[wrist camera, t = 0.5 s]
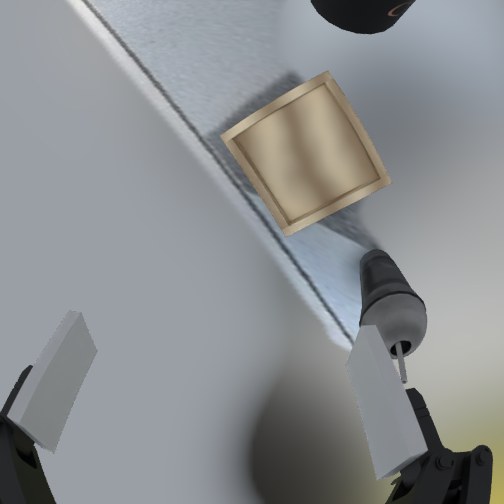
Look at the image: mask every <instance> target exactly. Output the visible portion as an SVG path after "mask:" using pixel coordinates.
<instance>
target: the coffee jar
mask: <svg viewBox="0 0 504 504" xmlns="http://www.w3.org/2000/svg"><path fill="white" fill-rule="evenodd" d="M414 2H415V0H311V3H312V5H313V6H314V8H315V9H316V11H317V12H318V13H319V14H320V15H321V16H322V17H323V18H325V19H326V20H327V21H328V22H329V23H331V24H333V25H335V26H337V27H339V28H341V29H343V30H346V31H350V32H354V33H360V34H374V33H379V32H384V31H385V30H387V29H388V28H390V27H391V26H393V25H394V24H395V23H396V22H397V20H398V19H399V18H400V17H401V16H402V15H403V14H404V13H405V12H406V10H407V9H408V8H409V7H410V6H411V5H412V4H413V3H414Z"/></svg>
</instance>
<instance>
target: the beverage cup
mask: <svg viewBox="0 0 504 504" xmlns="http://www.w3.org/2000/svg"><path fill="white" fill-rule="evenodd" d="M360 280H361V295H362V310H361V317H360V322H359V326H360V327H361V326H366V325H376V327H377V329H378V331H379V333H380V335H381V337H382V339H383V341H384V344H385V346H386V348H387V350H388V352H389V354H390V357H391V359H398V362H399V369H400V375H401V381H402V384H406V383H407V376H406V370H405V363H404V358H403V357H405V356H408V355H409V354H411V353H412V352H414V351H415V350H416V348H417V347H418V346H419V345H420V344H421V342H422V340H423V338H424V336H425V333H426V327H427V315H426V308H425V304H424V302H423V300H422V299H421V298H420V297H419V296H418V295H417V294H416V293H415V292H414V291H413V290H412V289H411V287H410V285H409V284H408V282H407V281H406V279H405V277H404V276H403V274H402V273H401V271H400V270H399V268H398V267H397V265H396V264H395V262H394V261H393V260H392V259H391V258H390V256H389V255H388V254H387V253H386V252H384V251H382V250H373V251H370V252H368V253H367V254H365V255H364V256H363V258H362V260H361V262H360Z"/></svg>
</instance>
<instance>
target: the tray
mask: <svg viewBox="0 0 504 504" xmlns="http://www.w3.org/2000/svg"><path fill="white" fill-rule="evenodd" d="M220 137H221V139H222V140H223V142H224V143H225V145H226V146H227V147H228V149H229V150H230V152H231V153H232V155H233V156H234V158H235V159H236V161H237V162H238V164H239V165H240V167H241V168H242V170H243V171H244V173H245V174H246V176H247V177H248V179H249V180H250V182H251V183H252V185H253V186H254V188H255V189H256V191H257V192H258V194H259V195H260V197H261V198H262V200H263V202H264V203H265V205H266V206H267V208H268V209H269V211H270V212H271V214H272V216H273V217H274V219H275V220H276V222H277V223H278V225H279V227H280V228H281V230H282V231H283V233H284V234H285V236H286V237H287V236H289V235H291V234H293V233H295V232H297V231H299V230H301V229H303V228H305V227H307V226H309V225H311V224H313V223H315V222H317V221H319V220H321V219H322V218H324V217H326V216H328V215H330V214H332V213H334V212H336V211H338V210H340V209H342V208H344V207H346V206H348V205H350V204H352V203H354V202H356V201H358V200H360V199H362V198H364V197H366V196H368V195H370V194H372V193H374V192H375V191H377V190H379V189H381V188H383V187H385V186H387V185H389V184H391V183H392V182H391V179H390V177H389V175H388V173H387V171H386V169H385V167H384V165H383V163H382V161H381V158H380V157H379V155H378V153H377V151H376V149H375V147H374V145H373V143H372V141H371V139H370V138H369V136H368V134H367V132H366V130H365V128H364V127H363V125H362V123H361V121H360V120H359V118H358V116H357V115H356V113H355V111H354V110H353V108H352V106H351V105H350V103H349V102H348V100H347V99H346V97H345V95H344V94H343V92H342V91H341V89H340V88H339V86H338V85H337V83H336V82H335V80H334V79H333V77H332V76H331V74H330V73H329V71H326V72H324V73H322V74H320V75H318V76H316V77H314V78H313V79H311V80H309V81H307V82H305V83H303V84H301V85H300V86H298V87H296V88H294V89H293V90H291V91H289V92H287V93H286V94H284V95H282V96H280V97H279V98H277V99H275V100H274V101H272V102H271V103H269V104H267V105H266V106H264V107H262V108H261V109H259V110H258V111H256V112H255V113H253V114H251V115H250V116H248V117H247V118H245V119H244V120H242V121H241V122H239V123H238V124H236V125H235V126H233V127H232V128H230V129H229V130H228V131H226V132H225V133H223V134H222V135H220Z"/></svg>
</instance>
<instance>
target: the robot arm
mask: <svg viewBox="0 0 504 504" xmlns="http://www.w3.org/2000/svg"><path fill="white" fill-rule="evenodd" d="M96 353H97V349H96V347H95V345H94V342H93V340H92V338H91V335H90V333H89V331H88V328H87V326H86V323H85V322H84V319H83V316H82V313H81V312H76V311H69V312H68V313H67V315H66V316H65V318H64V319H63V321H62V322H61V324H60V325H59V326H58V328H57V329H56V331H55V332H54V334H53V335H52V337H51V339H50V340H49V342H48V343H47V345H46V346H45V348H44V350H43V351H42V353H41V354H40V356H39V358H38V359H37V361H36V363H35V364H34V366H32V365H29V366H28V367H27V368H26V369H25V370H24V371H23V372H22V373H21V375H20V377H19V379H18V382H16V384H15V386H14V388H13V389H12V391H11V393H10V395H9V397H8V399H7V401H6V403H5V405H4V407H3V409H2V411H1V412H0V504H56V502H55V500H54V497H53V495H52V493H51V490H50V488H49V485H48V483H47V480H46V477H45V475H44V472H43V469H42V466H41V463H40V460H39V457H38V454H37V450H36V448H35V446H34V443H37V444H38V445H39V446H40V447H41V448H43V449H45V450H47V451H49V452H51V453H53V454H54V452H55V450H56V447H57V444H58V441H59V439H60V436H61V433H62V431H63V428H64V426H65V423H66V420H67V418H68V415H69V413H70V411H71V408H72V406H73V403H74V401H75V399H76V396H77V394H78V392H79V389H80V387H81V385H82V383H83V381H84V378H85V376H86V374H87V372H88V370H89V368H90V366H91V364H92V361H93V359H94V357H95V355H96ZM346 367H347V370H348V374H349V377H350V380H351V384H352V387H353V390H354V394H355V397H356V401H357V404H358V408H359V411H360V415H361V418H362V422H363V426H364V430H365V433H366V437H367V441H368V445H369V448H370V453H371V457H372V461H373V465H374V469H375V474H376V478H377V480H380V479H383V478H387V477H390V476H393V475H395V474H396V473H398V472H399V471H400V473H401V476H400V477H398V478H397V479H395V480H394V481H393V482H392V483H391V485H393V484H395V483H396V485H395V487H394V489H393V491H392V493H391V495H390V496H389V498H388V500H387V502H386V503H385V504H489V502H490V494H491V483H492V464H493V456H492V452H491V450H490V449H489V448H488V447H487V446H485V445H479V446H477V447H476V448H475V449H474V450H472V451H468V452H457V453H456V452H452V451H451V450H449V449H447V448H444V446H443V445H442V443H441V441H440V438H439V436H438V433H437V430H436V428H435V425H434V423H433V420H432V418H431V416H430V413H429V411H428V408H426V404H425V401H424V399H423V397H422V395H421V394H420V393H419V392H418V391H417V390H416V389H415V388H411V389H406V390H405V388H404V386H403V384H402V381H401V379H400V377H399V375H398V372H397V370H396V368H395V366H394V363H393V361H392V359H391V357H390V354H389V352H388V350H387V348H386V346H385V344H384V341H383V339H382V337H381V335H380V333H379V331H378V329H377V327H376V325H366V326H361V327H360V330H359V332H358V335H357V338H356V340H355V343H354V345H353V348H352V350H351V353H350V355H349V358H348V360H347V362H346Z"/></svg>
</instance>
